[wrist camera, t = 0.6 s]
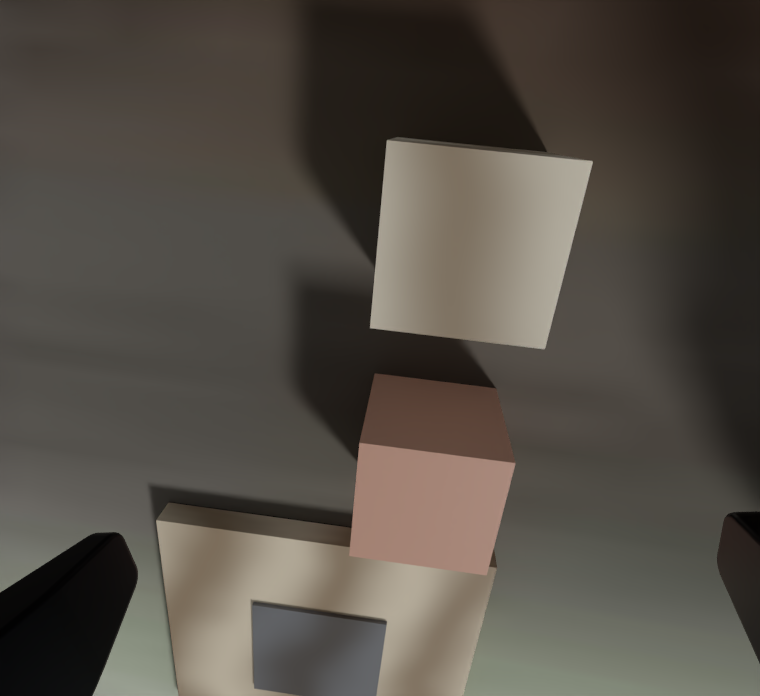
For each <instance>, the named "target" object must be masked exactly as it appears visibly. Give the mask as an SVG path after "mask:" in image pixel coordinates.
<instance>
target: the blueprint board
mask: <svg viewBox="0 0 760 696" xmlns="http://www.w3.org/2000/svg"><path fill="white" fill-rule="evenodd" d="M156 523H157V531H158V539H159V547H160V554H161V562H162V570H163V578H164V585H165V593H166V601H167V608H168V616H169V624H170V632H171V639H172V647H173V655H174V663H175V670H176V678H177V686H178V693H179V696H463V694H464V690H465V686H466V682H467V679H468V675H469V671H470V667H471V664H472V660H473V656H474V652H475V649H476V645H477V641H478V637H479V634H480V630H481V626H482V622H483V619H484V615H485V611H486V607H487V603H488V600H489V596H490V592H491V588H492V585H493V581H494V577H495V573H496V570H497V565H496V559H495V552H494V549H493V553H492V557H491V561H490V565H489V569H488V572H487V575H480V574H472V573H465V572H458V571H451V570H444V569H437V568H430V567H423V566H416V565H409V564H402V563H395V562H388V561H381V560H373V559H366V558H359V557H352V556H349V552H350V541H351V530H352V528H349V527H342V526H335V525H328V524H321V523H313V522H306V521H299V520H292V519H284V518H277V517H270V516H263V515H255V514H248V513H241V512H234V511H227V510H219V509H212V508H205V507H198V506H190V505H183V504H176V503H169V502H168V504H167V505H166V507H165V508H164V509H163V511H162V512H161V514H160V515H159V517H158V518H157V520H156Z"/></svg>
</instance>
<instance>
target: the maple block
mask: <svg viewBox="0 0 760 696" xmlns="http://www.w3.org/2000/svg"><path fill="white" fill-rule="evenodd" d="M592 163H593V161H588V160H583V159H578V158H573V157H568V156H563V155H558V154H553V153H548V152H539V151H530V150H520V149H510V148H500V147H491V146H481V145H471V144H461V143H452V142H442V141H432V140H422V139H413V138H403V137H396V138H393V139H389V140H387V145H386V156H385V167H384V178H383V189H382V200H381V211H380V222H379V233H378V244H377V255H376V266H375V277H374V288H373V299H372V310H371V321H370V328H372V329H381V330H389V331H397V332H406V333H414V334H422V335H431V336H439V337H447V338H456V339H464V340H472V341H481V342H489V343H497V344H506V345H514V346H522V347H531V348H539V349H545V347H546V343H547V339H548V335H549V331H550V327H551V323H552V319H553V316H554V312H555V308H556V304H557V300H558V296H559V292H560V288H561V284H562V280H563V277H564V273H565V269H566V265H567V261H568V257H569V253H570V249H571V245H572V241H573V238H574V234H575V230H576V226H577V222H578V218H579V214H580V210H581V206H582V202H583V199H584V195H585V191H586V187H587V183H588V179H589V175H590V171H591V167H592Z"/></svg>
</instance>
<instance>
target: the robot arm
mask: <svg viewBox="0 0 760 696" xmlns="http://www.w3.org/2000/svg"><path fill="white" fill-rule="evenodd" d="M717 564H718V569H719V572H720V575H721V578H722V580H723V582H724V584H725V587H726V589H727V591H728V593H729V596H730V598H731V600H732V602H733V605H734V607H735V609H736V611H737V614H738V616H739V618H740V620H741V623H742V625H743V627H744V629H745V632H746V634H747V636H748V638H749V641H750V643H751V645H752V647H753V650H754V652H755V654H756V656H757V658H758V661H759V663H760V512H733V513H729V514H728V515H727V516H726V517H725V519H724V522H723V528H722V533H721V538H720V544H719V549H718V554H717ZM137 579H138V570H137V567H136V564H135V562H134V560H133V558H132V555H131V553H130V551H129V548H128V546H127V544H126V542H125V539H124V538H123V536H122V535H120V534H119V533H116V532H109V533H95V534H92V535H90V536H88V537H86V538H85V539H83V540H82V541H80V542H78V543H77V544H75V545H74V546H72V547H71V548H69V549H68V550H66V551H64V552H63V553H61V554H60V555H58V556H57V557H55V558H54V559H52V560H50V561H49V562H47V563H46V564H44V565H43V566H41V567H40V568H38V569H36V570H35V571H33V572H32V573H30V574H29V575H27V576H25V577H24V578H22V579H21V580H19V581H18V582H16V583H15V584H13V585H11V586H10V587H8V588H7V589H5V590H4V591H2V592H1V593H0V696H92V695H93V693H94V691H95V689H96V687H97V684H98V682H99V679H100V677H101V675H102V672H103V670H104V667H105V665H106V662H107V660H108V657H109V655H110V652H111V649H112V647H113V644H114V642H115V639H116V636H117V634H118V631H119V629H120V626H121V623H122V621H123V618H124V616H125V613H126V611H127V608H128V605H129V603H130V600H131V598H132V595H133V592H134V590H135V587H136V584H137Z"/></svg>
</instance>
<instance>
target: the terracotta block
mask: <svg viewBox="0 0 760 696" xmlns="http://www.w3.org/2000/svg"><path fill="white" fill-rule="evenodd" d="M514 467H515V459H514V456H513V452H512V448H511V444H510V440H509V436H508V432H507V429H506V425H505V421H504V417H503V413H502V409H501V406H500V402H499V398H498V394H497V390H496V388H489V387H481V386H473V385H465V384H457V383H449V382H441V381H433V380H425V379H417V378H409V377H401V376H393V375H385V374H376V373H375V374H374V379H373V383H372V388H371V392H370V397H369V401H368V406H367V411H366V415H365V420H364V424H363V429H362V433H361V438H360V442H359V453H358V464H357V475H356V486H355V497H354V508H353V519H352V530H351V541H350V552H349V556H352V557H359V558H366V559H373V560H381V561H388V562H395V563H402V564H409V565H416V566H423V567H430V568H437V569H444V570H451V571H458V572H465V573H472V574H480V575H487V572H488V569H489V565H490V561H491V557H492V553H493V549H494V545H495V541H496V537H497V533H498V529H499V526H500V522H501V518H502V514H503V510H504V506H505V502H506V498H507V494H508V490H509V487H510V483H511V479H512V475H513V471H514Z"/></svg>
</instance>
